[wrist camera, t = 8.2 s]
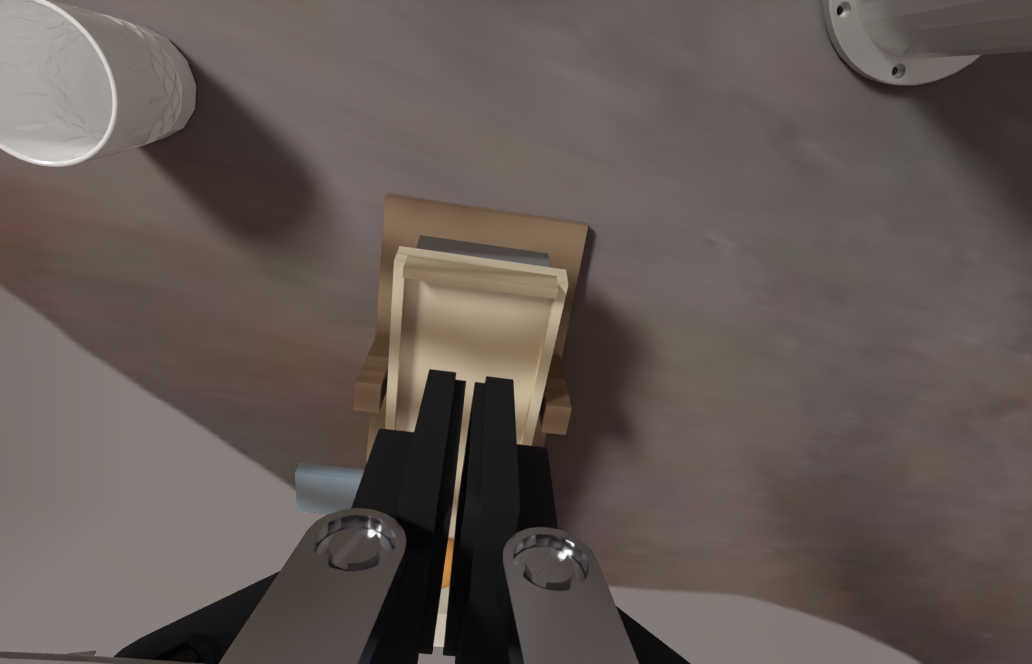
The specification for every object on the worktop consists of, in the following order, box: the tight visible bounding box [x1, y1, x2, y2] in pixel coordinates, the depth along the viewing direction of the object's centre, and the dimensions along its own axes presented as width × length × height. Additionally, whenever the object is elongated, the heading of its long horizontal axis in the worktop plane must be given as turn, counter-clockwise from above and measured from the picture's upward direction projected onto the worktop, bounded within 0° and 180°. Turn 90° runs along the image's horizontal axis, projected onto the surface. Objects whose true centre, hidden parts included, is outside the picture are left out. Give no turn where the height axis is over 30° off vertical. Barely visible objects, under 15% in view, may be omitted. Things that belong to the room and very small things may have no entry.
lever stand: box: [353, 194, 588, 464], centre depth 42 cm, size 23×14×9 cm, turn 171°
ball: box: [441, 538, 454, 589], centre depth 50 cm, size 4×4×4 cm
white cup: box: [0, 0, 196, 167], centre depth 34 cm, size 8×8×10 cm
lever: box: [295, 235, 568, 528], centre depth 40 cm, size 22×16×6 cm
